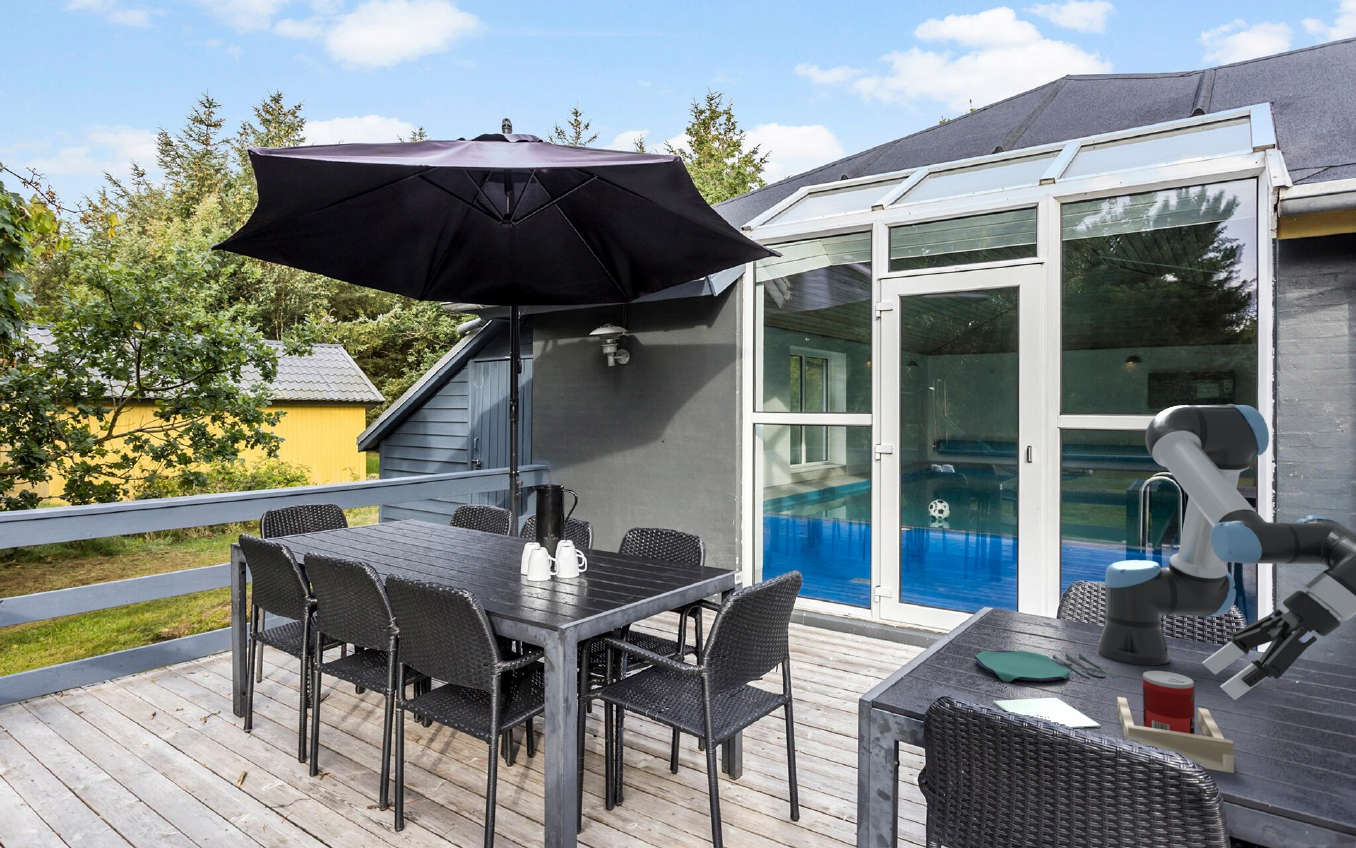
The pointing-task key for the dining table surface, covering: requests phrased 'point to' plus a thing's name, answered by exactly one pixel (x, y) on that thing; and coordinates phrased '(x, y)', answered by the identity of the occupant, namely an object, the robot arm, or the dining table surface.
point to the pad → (1048, 711)
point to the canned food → (1168, 702)
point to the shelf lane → (1183, 739)
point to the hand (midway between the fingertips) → (1217, 680)
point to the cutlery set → (1033, 666)
